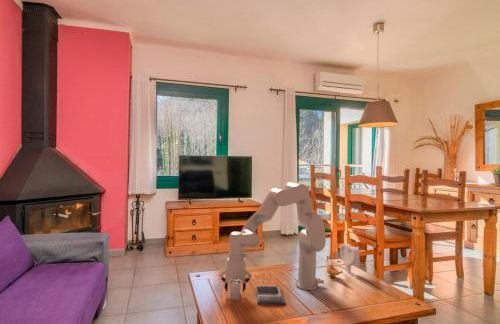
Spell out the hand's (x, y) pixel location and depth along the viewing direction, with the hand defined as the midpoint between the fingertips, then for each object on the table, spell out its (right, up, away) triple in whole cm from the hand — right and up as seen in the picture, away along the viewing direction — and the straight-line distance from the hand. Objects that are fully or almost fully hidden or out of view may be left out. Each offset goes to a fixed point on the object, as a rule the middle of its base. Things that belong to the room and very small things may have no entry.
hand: (235, 290), depth 148 cm
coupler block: (0, -3, 0) cm, 3 cm away
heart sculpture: (+70, -5, +34) cm, 78 cm away
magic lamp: (+58, -5, +27) cm, 64 cm away
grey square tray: (+18, -3, 0) cm, 18 cm away
